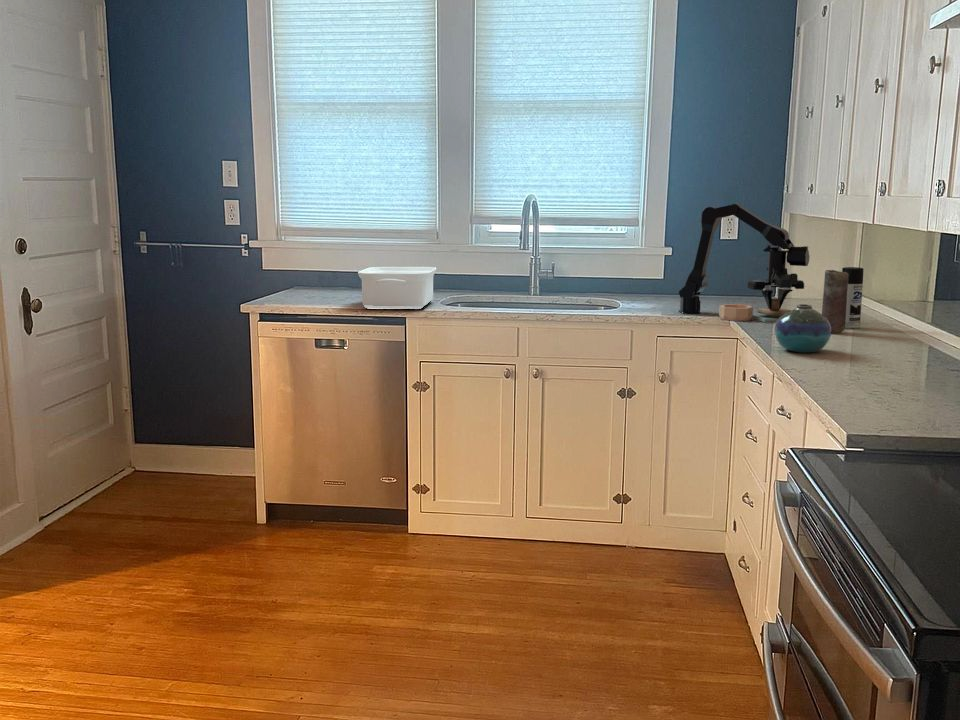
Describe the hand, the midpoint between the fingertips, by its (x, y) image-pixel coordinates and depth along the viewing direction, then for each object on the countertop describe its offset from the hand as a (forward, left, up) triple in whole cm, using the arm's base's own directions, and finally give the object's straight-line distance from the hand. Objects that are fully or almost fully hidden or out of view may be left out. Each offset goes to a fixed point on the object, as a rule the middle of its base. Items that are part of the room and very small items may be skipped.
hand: (774, 308), depth 315 cm
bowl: (-13, +3, -4) cm, 14 cm away
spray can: (+16, -22, -4) cm, 27 cm away
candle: (+6, -30, -4) cm, 31 cm away
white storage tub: (-131, +57, -4) cm, 143 cm away
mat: (0, 0, -4) cm, 4 cm away
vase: (-19, -59, -4) cm, 62 cm away
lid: (0, 0, -1) cm, 1 cm away
